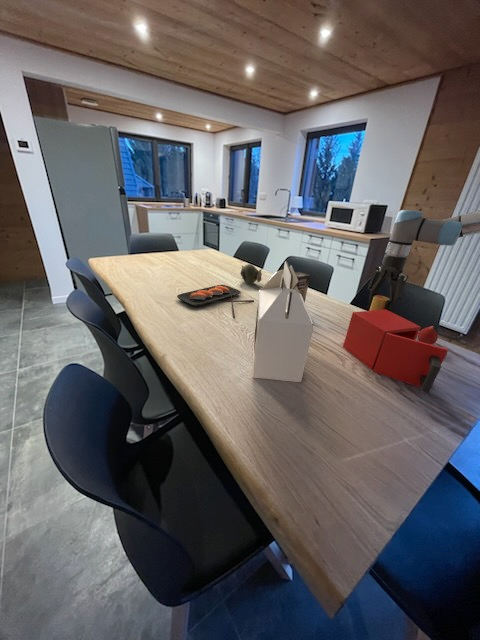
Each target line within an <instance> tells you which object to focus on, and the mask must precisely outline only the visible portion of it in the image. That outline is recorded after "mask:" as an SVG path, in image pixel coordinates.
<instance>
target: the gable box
mask: <svg viewBox="0 0 480 640" xmlns="http://www.w3.org/2000/svg"><path fill="white" fill-rule="evenodd" d="M298 283H299V280H298V278H297V276H296V274H295V270H294V267H293V265H292V264H290V265H289V263H288V261H287V260H285V261H284V265H283V268H281V269H278V270H276V272H275V273H274V274H273V275H272V276H271V277H270V278H269V279H268V281H267V282H266V283H265V284H264V285H263V286H262V287H261V289H259V290H258V296H257V297H258V298H257V306H256V315H255V325H254V332H253V333H254V334H253V348H252V349H253V350H252V371H251V372H252V373H251V376H252V378H255V379H266V380H273V381H283V382H293V383H301V382H302V381H303V376H304V371H305V367H306V362H307V358H308V353H309V349H310V345H311V339H312V336H313V330H314V327H315V324H314V322H313V320H312V317H311V315H310V312H309V310H308V307H307V304H306V301H305V302H304V300H303V298H302V295H301V294H300V292H299V290H298V288H297V284H298Z"/></svg>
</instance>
